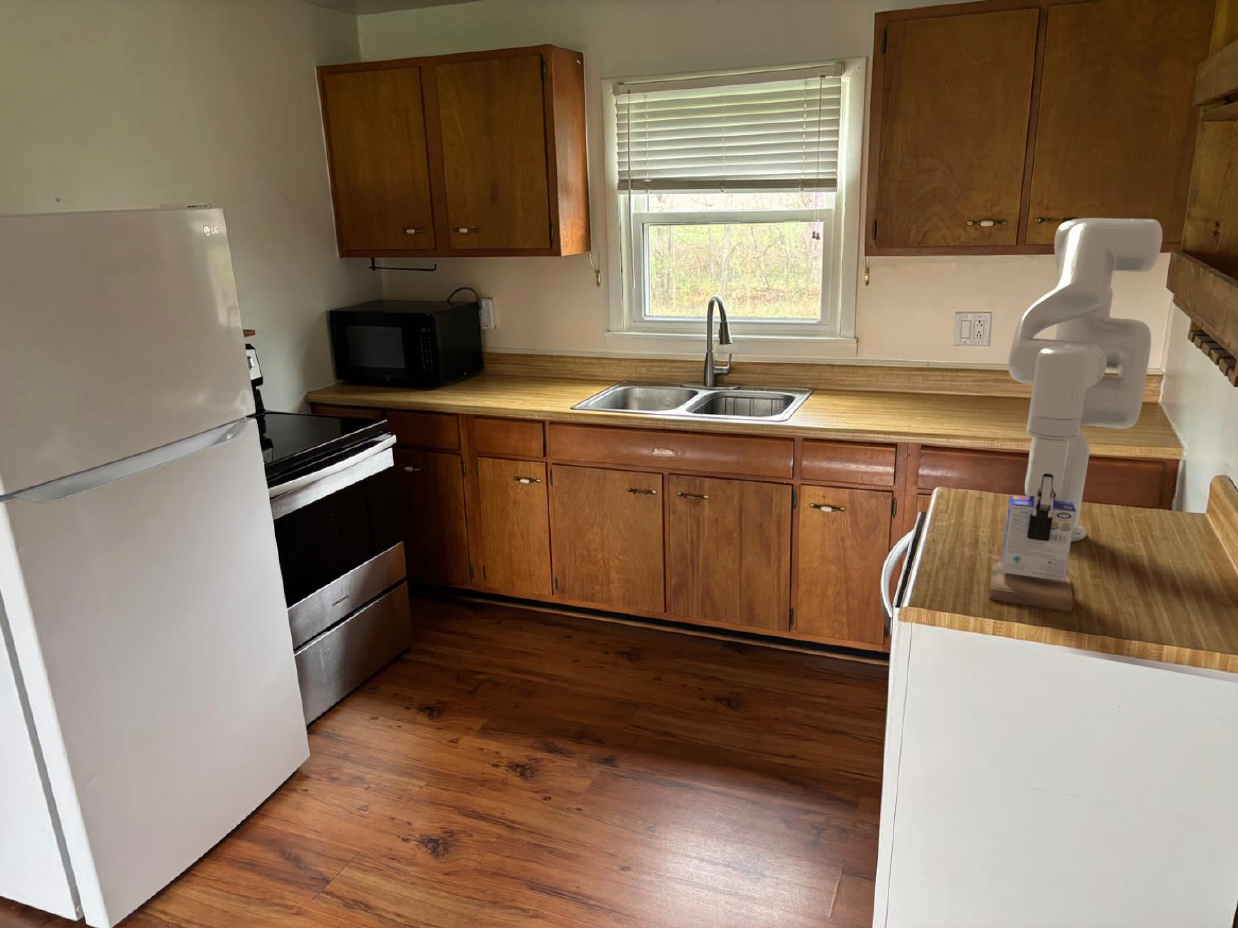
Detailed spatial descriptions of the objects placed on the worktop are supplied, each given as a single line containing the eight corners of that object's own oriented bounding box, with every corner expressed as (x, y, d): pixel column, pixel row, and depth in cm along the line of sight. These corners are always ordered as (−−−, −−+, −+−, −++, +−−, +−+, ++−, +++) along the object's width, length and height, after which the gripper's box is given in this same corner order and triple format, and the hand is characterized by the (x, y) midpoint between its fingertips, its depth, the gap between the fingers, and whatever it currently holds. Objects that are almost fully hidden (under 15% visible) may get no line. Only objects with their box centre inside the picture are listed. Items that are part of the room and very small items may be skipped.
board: (991, 568, 157) (993, 558, 157) (1067, 579, 153) (1068, 569, 152) (989, 598, 145) (991, 588, 144) (1071, 612, 140) (1073, 601, 140)
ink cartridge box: (1063, 569, 149) (1076, 487, 145) (1066, 582, 144) (1080, 497, 140) (999, 561, 152) (1010, 480, 148) (1000, 573, 147) (1012, 490, 143)
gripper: (1027, 412, 150) (1012, 514, 155) (1028, 435, 135) (1012, 547, 140) (1076, 417, 147) (1060, 520, 152) (1083, 440, 132) (1065, 554, 137)
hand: (1037, 532), depth 146 cm, fingers closed on ink cartridge box, 5 cm apart
